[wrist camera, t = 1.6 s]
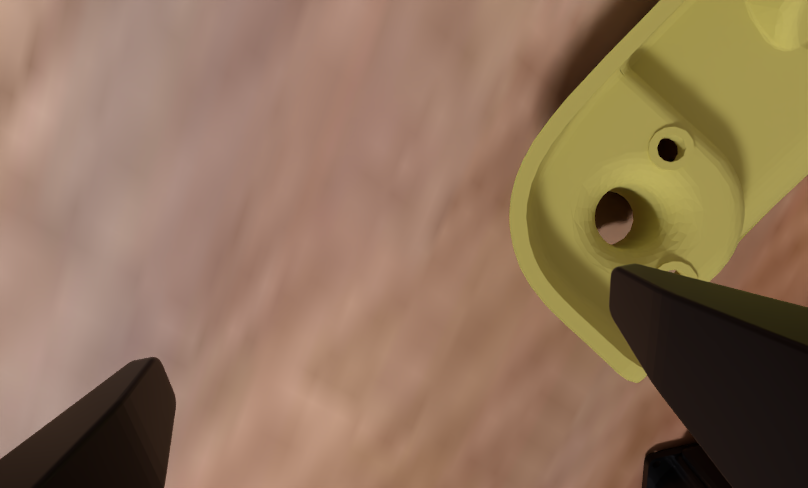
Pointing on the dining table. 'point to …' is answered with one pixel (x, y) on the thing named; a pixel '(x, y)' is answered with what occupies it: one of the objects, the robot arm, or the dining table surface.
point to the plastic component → (652, 176)
